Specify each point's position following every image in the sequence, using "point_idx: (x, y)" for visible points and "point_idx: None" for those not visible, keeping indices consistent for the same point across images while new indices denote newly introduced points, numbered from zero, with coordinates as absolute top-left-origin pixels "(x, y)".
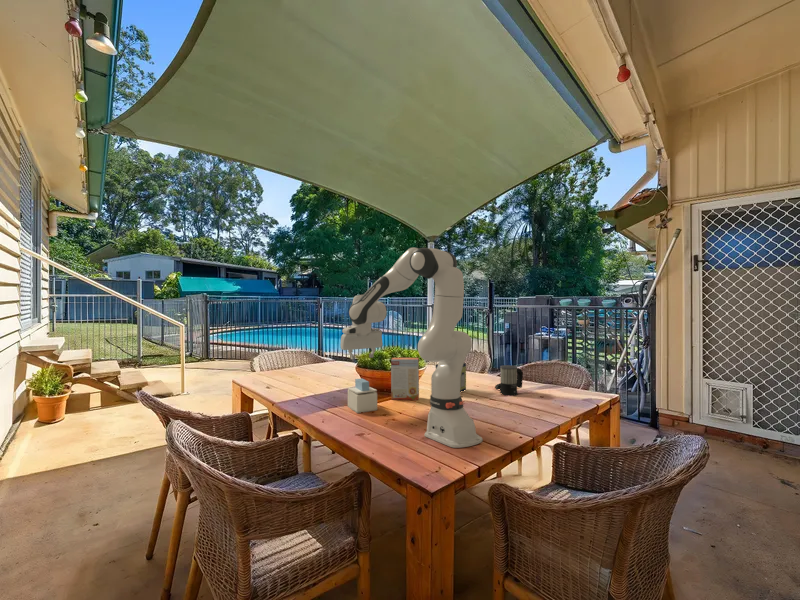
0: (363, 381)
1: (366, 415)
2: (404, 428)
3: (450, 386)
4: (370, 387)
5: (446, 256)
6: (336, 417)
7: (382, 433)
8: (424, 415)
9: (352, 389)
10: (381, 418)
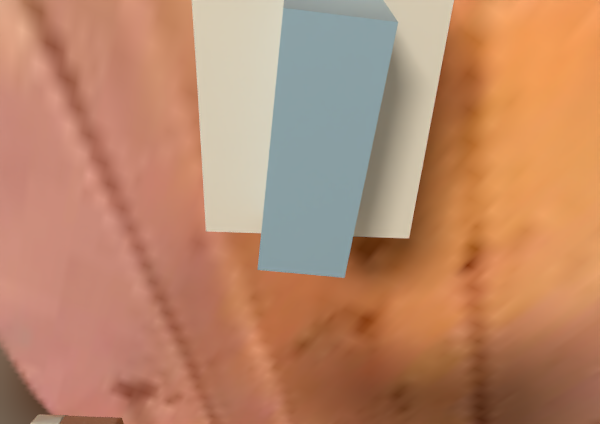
0: (301, 231)
1: None
2: (336, 413)
3: None
4: (431, 102)
5: None
6: (63, 148)
7: (226, 415)
8: (540, 343)
9: (210, 78)
10: (318, 285)
